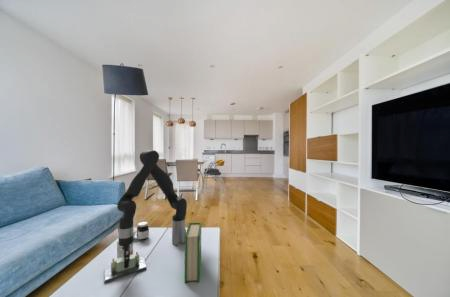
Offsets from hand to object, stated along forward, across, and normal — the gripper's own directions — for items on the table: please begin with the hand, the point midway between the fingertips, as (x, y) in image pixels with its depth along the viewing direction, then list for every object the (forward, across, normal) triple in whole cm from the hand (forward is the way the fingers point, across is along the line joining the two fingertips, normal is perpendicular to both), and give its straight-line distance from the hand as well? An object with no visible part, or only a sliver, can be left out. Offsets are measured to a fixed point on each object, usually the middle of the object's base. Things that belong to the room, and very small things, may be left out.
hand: (125, 264), depth 104 cm
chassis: (+3, 0, 0) cm, 3 cm away
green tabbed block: (+2, 0, 0) cm, 2 cm away
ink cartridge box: (+3, +14, -1) cm, 14 cm away
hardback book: (+4, -22, -32) cm, 39 cm away
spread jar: (+4, +36, -13) cm, 38 cm away
